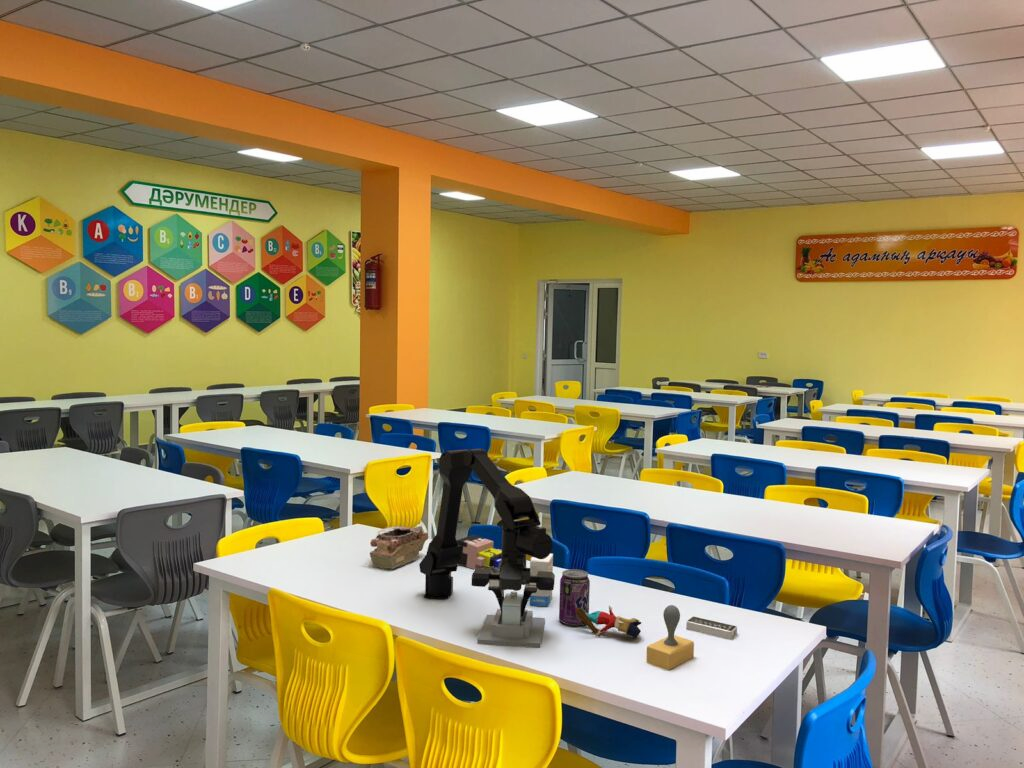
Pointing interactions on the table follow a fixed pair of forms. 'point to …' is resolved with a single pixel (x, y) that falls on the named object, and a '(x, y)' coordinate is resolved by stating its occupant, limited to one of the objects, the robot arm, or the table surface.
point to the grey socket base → (512, 631)
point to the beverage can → (573, 596)
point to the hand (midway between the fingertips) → (512, 615)
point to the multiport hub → (711, 628)
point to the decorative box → (396, 546)
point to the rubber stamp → (670, 644)
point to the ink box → (536, 565)
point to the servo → (512, 609)
